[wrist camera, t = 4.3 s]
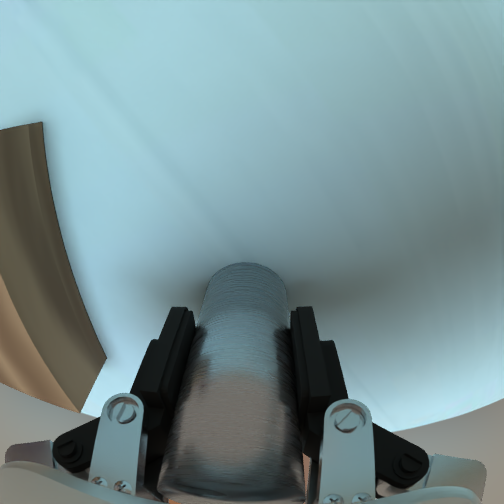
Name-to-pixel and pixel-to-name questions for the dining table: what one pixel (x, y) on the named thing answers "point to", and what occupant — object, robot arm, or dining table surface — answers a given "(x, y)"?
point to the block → (39, 284)
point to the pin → (237, 399)
